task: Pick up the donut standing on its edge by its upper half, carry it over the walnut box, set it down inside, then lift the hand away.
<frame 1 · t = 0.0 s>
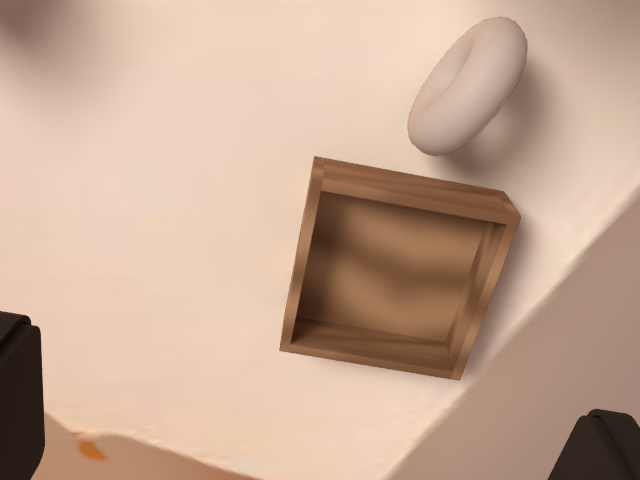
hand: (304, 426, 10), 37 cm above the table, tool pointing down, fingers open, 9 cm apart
walnut box: (387, 258, 50), on the table
donut: (450, 73, 43), on the table
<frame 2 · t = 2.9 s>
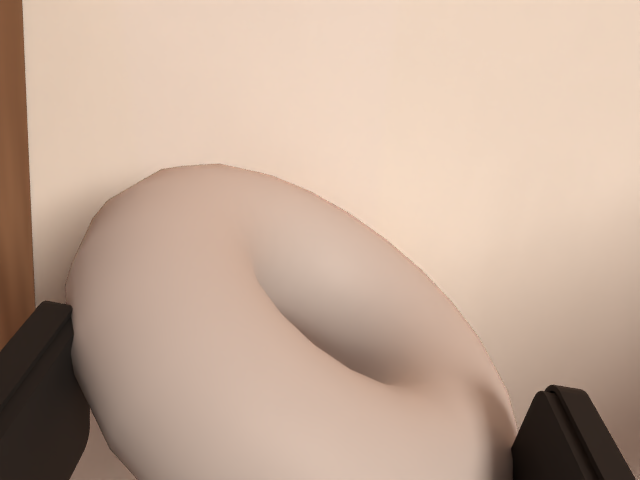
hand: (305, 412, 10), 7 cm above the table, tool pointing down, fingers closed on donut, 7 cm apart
donut: (317, 233, 17), on the table, touching gripper
when the fingers open (9 cm above the table, at t = 8.6 s): donut drops 1 cm, resting on walnut box.
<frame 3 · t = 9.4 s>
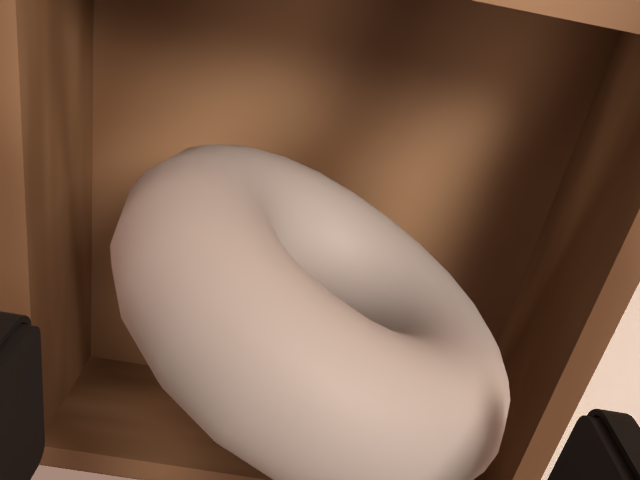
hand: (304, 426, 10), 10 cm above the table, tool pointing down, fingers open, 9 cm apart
walnut box: (318, 205, 19), on the table
donut: (324, 214, 18), point 1 cm above the table, touching walnut box
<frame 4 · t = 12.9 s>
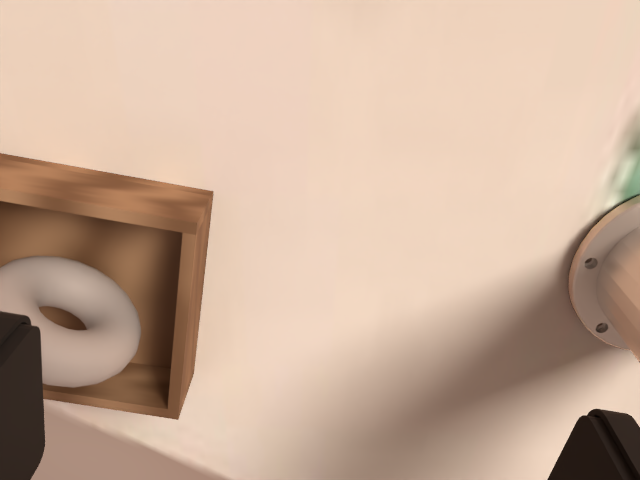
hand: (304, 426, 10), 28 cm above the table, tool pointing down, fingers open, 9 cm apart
walnut box: (94, 271, 42), on the table
donut: (94, 276, 41), point 1 cm above the table, touching walnut box
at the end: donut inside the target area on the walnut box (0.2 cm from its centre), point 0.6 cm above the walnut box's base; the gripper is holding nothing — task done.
